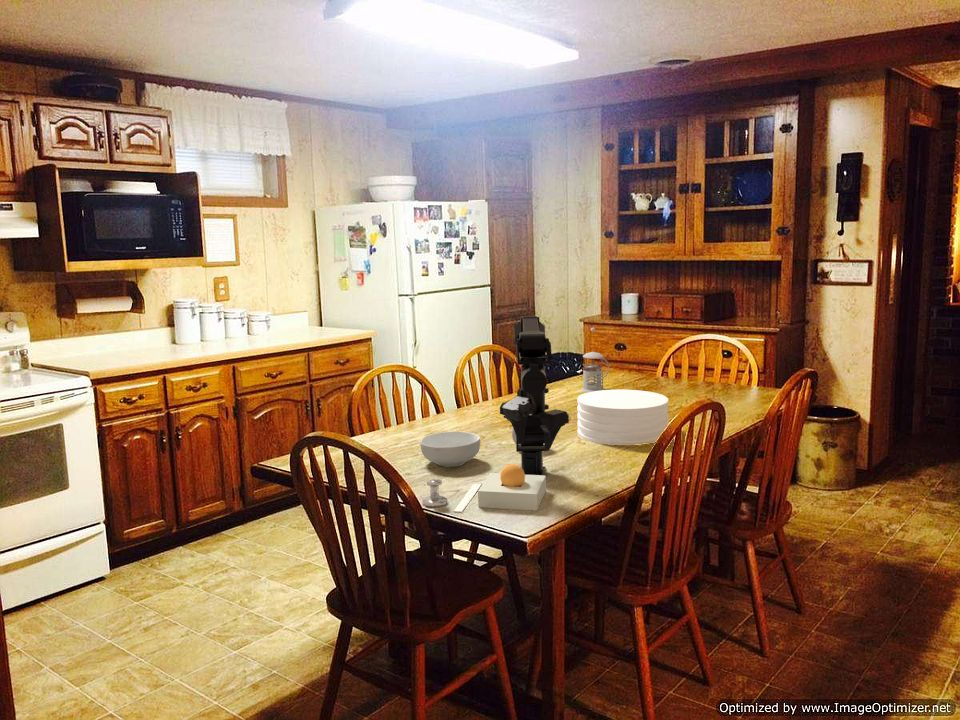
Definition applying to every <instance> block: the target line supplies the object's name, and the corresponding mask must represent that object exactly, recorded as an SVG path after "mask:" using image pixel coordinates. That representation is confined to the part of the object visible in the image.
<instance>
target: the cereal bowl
mask: <svg viewBox="0 0 960 720" xmlns="http://www.w3.org/2000/svg"><path fill="white" fill-rule="evenodd" d="M480 447H481V437H480V436H479V435H478V434H476V433H473V432H468V431H443V432H436V433H431V434H428V435H426V436H424V437H422V438H421V439H420V450H421V454H422V456H424V458H425V459H426V460H428V461H430V462H432V463H435V464H437V465H438V466H441V467H445V468H446V467H447V468H448V467H450V468H451V467H452V468H453V467H458V466H462V465H464V464H465V463H467V462H468V461H471V460H472V459H473V458H475V457H476V456H477V454H478V453H479V451H480V449H481V448H480Z"/></svg>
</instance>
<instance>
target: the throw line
mask: <svg viewBox="0 0 960 720" xmlns="http://www.w3.org/2000/svg"><path fill="white" fill-rule="evenodd" d="M481 486H482V484H481V483H479V484H478V483H473V484H472V485H471V487H470V488H469V489H468V491H467V492H466V494H465V495H464V497H463V498H462V499H461V500H460V502H459V503H458V505H457V506H455V509H454V510H453V512H454V513H463V511H465V509H466V507H467V505H468V504H469V503H470V502H471V501H472V499H473V498H474V496H475V494H476V493H478V490H479V489H480V487H481Z"/></svg>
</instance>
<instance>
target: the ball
mask: <svg viewBox="0 0 960 720" xmlns="http://www.w3.org/2000/svg"><path fill="white" fill-rule="evenodd" d="M500 473H501V474H500V479H501V482H502V484H503V485H504V486H513V487H520V486H522V484H523V483H524V480H525V473H524V471H523V469H522V468H521V465H519V464H514V463H512V464H507V465H505V466H504V467H503V469H502V470H501V471H500Z"/></svg>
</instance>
